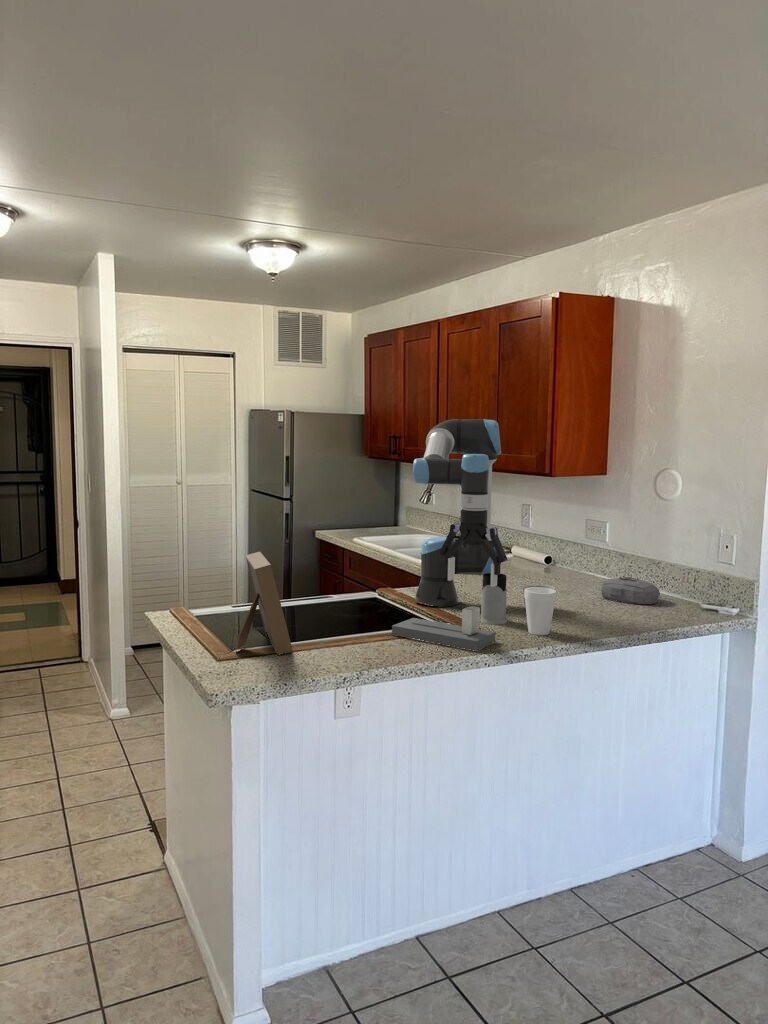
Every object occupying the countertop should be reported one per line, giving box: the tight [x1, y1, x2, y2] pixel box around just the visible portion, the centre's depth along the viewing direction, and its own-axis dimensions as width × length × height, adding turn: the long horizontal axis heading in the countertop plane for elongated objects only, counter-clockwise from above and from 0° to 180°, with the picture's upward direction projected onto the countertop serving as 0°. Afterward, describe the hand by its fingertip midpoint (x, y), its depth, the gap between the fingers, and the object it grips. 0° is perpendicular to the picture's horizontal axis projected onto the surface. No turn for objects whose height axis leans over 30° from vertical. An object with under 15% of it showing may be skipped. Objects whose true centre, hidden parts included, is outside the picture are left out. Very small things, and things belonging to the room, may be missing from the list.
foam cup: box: [523, 587, 557, 636], centre depth 235 cm, size 10×9×13 cm
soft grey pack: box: [601, 576, 661, 605], centre depth 282 cm, size 15×8×20 cm
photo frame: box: [235, 551, 294, 655], centre depth 215 cm, size 15×22×25 cm
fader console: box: [391, 617, 497, 651], centre depth 226 cm, size 28×12×3 cm, turn 56°
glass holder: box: [479, 573, 508, 625], centre depth 250 cm, size 9×14×15 cm, turn 160°
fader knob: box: [461, 605, 481, 635], centre depth 221 cm, size 3×5×7 cm, turn 146°
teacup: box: [522, 583, 556, 607], centre depth 265 cm, size 14×11×8 cm
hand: (472, 583), depth 220 cm, fingers open, 13 cm apart
